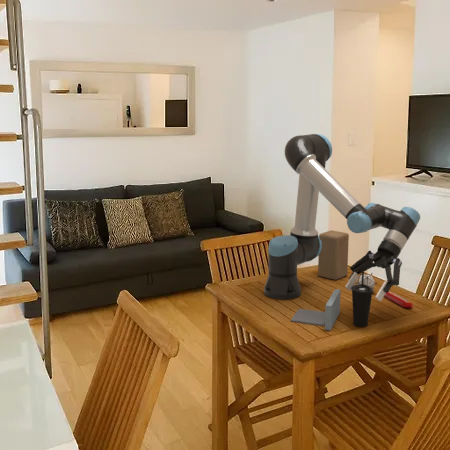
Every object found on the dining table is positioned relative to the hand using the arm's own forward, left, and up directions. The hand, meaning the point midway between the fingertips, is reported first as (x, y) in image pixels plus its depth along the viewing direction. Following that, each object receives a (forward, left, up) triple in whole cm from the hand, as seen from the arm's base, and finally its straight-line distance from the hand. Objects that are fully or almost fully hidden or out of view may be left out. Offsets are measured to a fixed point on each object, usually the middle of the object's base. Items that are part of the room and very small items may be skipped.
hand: (362, 293), depth 196 cm
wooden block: (-20, +53, -12) cm, 58 cm away
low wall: (-10, +1, -12) cm, 16 cm away
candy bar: (+10, +28, -12) cm, 32 cm away
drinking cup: (0, +1, -12) cm, 12 cm away
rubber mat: (-18, +1, -12) cm, 22 cm away
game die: (-3, +36, -12) cm, 38 cm away
